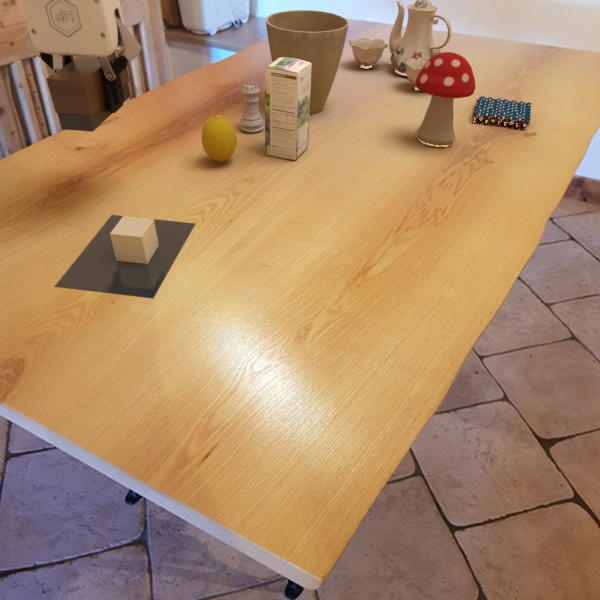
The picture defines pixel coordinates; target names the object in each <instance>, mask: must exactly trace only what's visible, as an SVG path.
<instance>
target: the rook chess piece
mask: <svg viewBox="0 0 600 600" xmlns="http://www.w3.org/2000/svg"><path fill="white" fill-rule="evenodd" d="M240 90H241V93H242V94H243V98H242V101H243V105H244V106H243V114H242V115H241V118H240V121H239V123H240V125H239V128H240V130H241V131H242V132H244V133H246V134H257V133H260V132H262V131H263V130H264V129H265V124H264V123H265V119H264V118H263V117H262V114H261V112H260V108H259V100H260V97H258V94H259V93H260V91H261V89H260V88H259V86H258V83H256V82H252V81H251V83H250V82H249V81H247V82H246V83H245V82H244V83H243V85H242V88H241V89H240Z"/></svg>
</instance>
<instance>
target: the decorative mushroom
mask: <svg viewBox="0 0 600 600" xmlns="http://www.w3.org/2000/svg"><path fill="white" fill-rule="evenodd" d="M415 85H416V86H415V87H417V88H418V89H419V90H420V91H423V92H422V93H424V94H427V95H429V96H431V98H430V100H429V104H428V106H427V108H426V111H425V114H424V117H423V120H422V121H421V122H422V123H421V124H420V125H419V127H418V129H417V130H416V136H417V139H418V138H419V139H420V140H421V141H423V142H425V143H429V144H433V145H439V146H441V145H450V144H451V145H452V144H453V143H454V141H455V139H456V134H455V130H454V99H463V98H469V97H471V96H473V95H474V94H475V91H476V79H475V75H474V71H473V68H472V66H471V64H470V62H469V61H468V60H467V59H466V57H464V56H462V55H461V54H459V53H456V52H451V51H444V52H441V53H439V54H436V55H434V56H433V57H431V58H430V59H429V60H428V61H427V62H426V63H425V65H424V67H423V68H422V70H421V71H420V73H419V74H418V76H417V79H416V84H415Z"/></svg>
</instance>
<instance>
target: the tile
mask: <svg viewBox="0 0 600 600" xmlns="http://www.w3.org/2000/svg"><path fill="white" fill-rule="evenodd" d="M123 216H124V215H119V214H111V215H110V217H108V219H107V220H106V221H105V222H104V224H103V225H102V226H101V227H100V229H99V230H98V232H97V233H95V235H94V237H93V238H92V239H90V241H89V242H88V244H87V245H86V246H85V247H84V248H83V250H82V251H81V253H80V254H79V255H78V256H77V257H76V259H75V260H74V261H73V262H72V264H70V266H69V268H68V269H67V270H66V271H65V272H64V273H63V275H62V277H61V278H60V279H59V280H58V281H57V282H56V284H55V285H54V288H60V289H69V290H76V291H77V290H78V291H87V292H95V293H101V294H112V295H119V296H129V297H136V298H145V299H154V298H155V296H156V295H157V293H158V291H159V289H160V288H161V286H162V284H163V282H164V281H165V279H166V278H167V276H168V274H169V272H170V270H171V268H172V267H173V266H174V263H175V262H176V259H177V258H178V256H179V254H180V253H181V251H182V249H183V247H184V245H185V244H186V242H187V240H188V238H189V237H190V234H191V233H192V231H193V229H194V227H195V226H196V222H187V221H186V222H185V221H175V220H167V219H157V218H153V219H154V222H155V228H156V233H157V239H158V244H159V246H158V248H157V249H156V251H155V253H154V254H153V256H152V257H151V259H150V261H149V262H148V264H142V263H133V262H124V261H117V260H116V256H115V252H114V248H113V244H112V240H111V236H110V233H111V231H112V230H113V229H114V227H115V226H116V225H117V224H118V222H119V221H120V220H121V218H122V217H123ZM126 216H127V215H126ZM127 217H129V216H127ZM136 217H137V218H139V217H138V216H136ZM146 218H147V217H146ZM147 219H149V218H147Z"/></svg>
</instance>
